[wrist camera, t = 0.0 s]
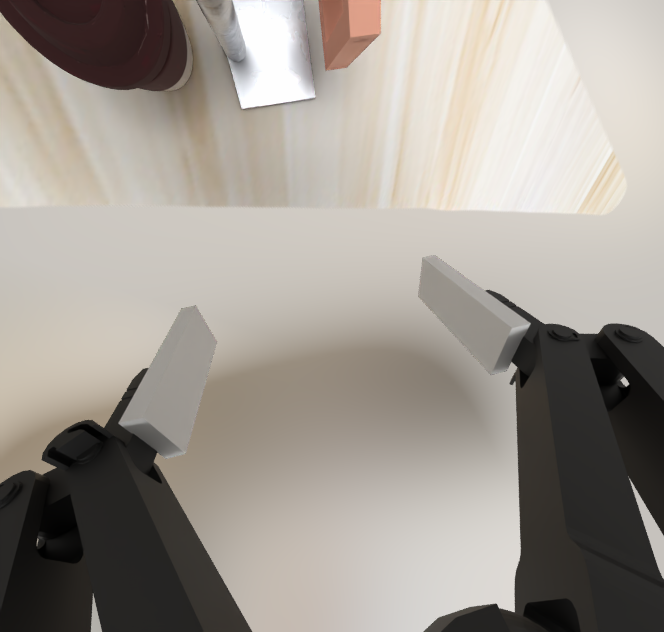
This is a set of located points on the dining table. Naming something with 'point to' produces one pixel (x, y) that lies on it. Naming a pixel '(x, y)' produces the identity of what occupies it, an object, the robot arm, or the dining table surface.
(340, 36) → the link
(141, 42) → the coffee cup
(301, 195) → the dining table surface
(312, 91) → the stand
